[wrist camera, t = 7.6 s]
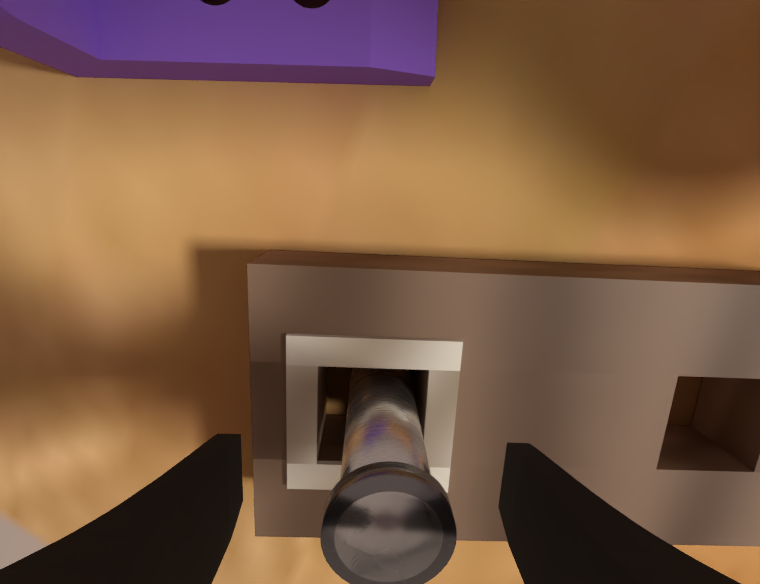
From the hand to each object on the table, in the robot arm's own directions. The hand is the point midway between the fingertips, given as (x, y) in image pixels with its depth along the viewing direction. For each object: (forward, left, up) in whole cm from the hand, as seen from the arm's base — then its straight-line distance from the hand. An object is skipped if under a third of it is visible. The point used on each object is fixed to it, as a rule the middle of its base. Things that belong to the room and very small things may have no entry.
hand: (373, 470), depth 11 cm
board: (-6, 0, -6) cm, 8 cm away
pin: (0, 0, -6) cm, 6 cm away
